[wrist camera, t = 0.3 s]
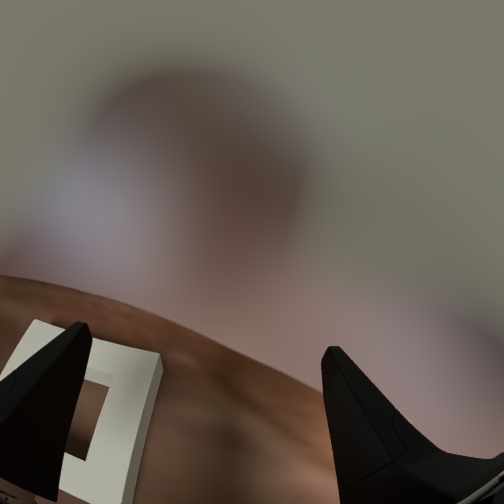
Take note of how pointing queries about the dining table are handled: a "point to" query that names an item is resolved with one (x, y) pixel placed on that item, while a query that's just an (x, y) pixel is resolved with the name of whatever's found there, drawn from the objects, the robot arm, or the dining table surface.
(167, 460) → the dining table surface
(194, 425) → the dining table surface
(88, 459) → the grey block
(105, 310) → the dining table surface
